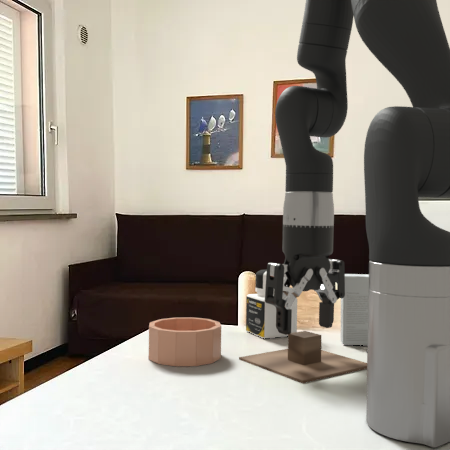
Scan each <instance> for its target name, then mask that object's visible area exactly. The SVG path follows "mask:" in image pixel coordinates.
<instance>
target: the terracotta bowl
mask: <svg viewBox="0 0 450 450" xmlns="http://www.w3.org/2000/svg"><path fill="white" fill-rule="evenodd" d="M221 359H222V324H221V323H220V321H217V320H213V319H211V318H202V317H193V316H192V317H191V316H190V317H169V318H167V317H166V318H161V319H160V318H159V319H157V320H153V321H150V322H149V325H148V361H149V360H150V361H151V362H153V363H156V364H159V365H164V366H172V367H198V366H204V365H209V364H210V365H211V364H214V363H215V362H217V361H219V360H221Z"/></svg>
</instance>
